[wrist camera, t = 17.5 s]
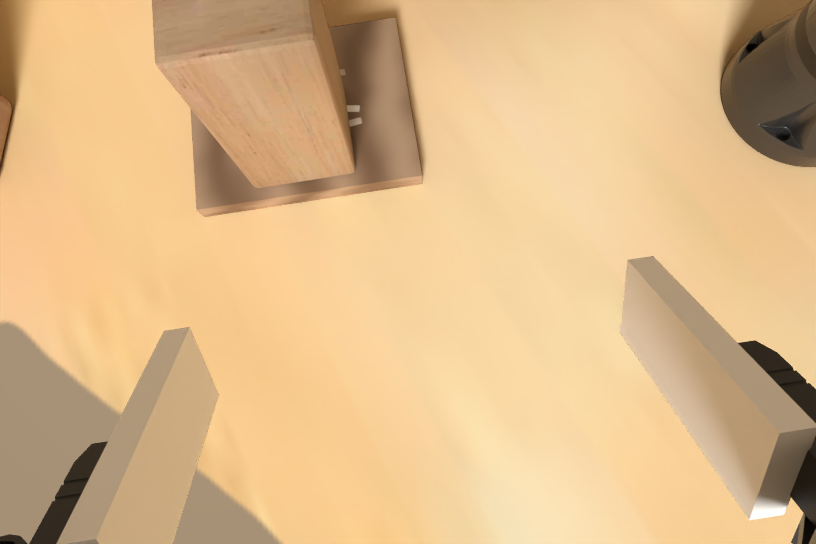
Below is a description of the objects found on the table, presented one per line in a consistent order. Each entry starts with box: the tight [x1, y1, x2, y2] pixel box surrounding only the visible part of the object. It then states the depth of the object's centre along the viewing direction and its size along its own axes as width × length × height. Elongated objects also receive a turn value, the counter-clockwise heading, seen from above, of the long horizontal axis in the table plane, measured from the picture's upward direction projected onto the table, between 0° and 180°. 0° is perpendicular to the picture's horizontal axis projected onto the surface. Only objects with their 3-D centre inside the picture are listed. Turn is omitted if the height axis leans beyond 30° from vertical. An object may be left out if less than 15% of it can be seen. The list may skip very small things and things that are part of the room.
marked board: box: [191, 17, 422, 217], centre depth 54 cm, size 22×18×2 cm
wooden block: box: [152, 0, 356, 188], centre depth 43 cm, size 10×10×20 cm
